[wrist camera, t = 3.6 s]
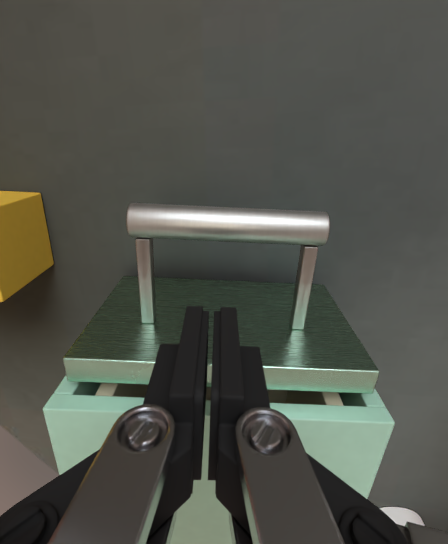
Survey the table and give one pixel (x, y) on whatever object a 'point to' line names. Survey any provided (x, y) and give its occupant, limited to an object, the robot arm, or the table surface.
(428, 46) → the table surface
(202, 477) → the fridge
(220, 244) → the table surface
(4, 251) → the block
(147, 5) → the table surface
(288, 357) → the fridge drawer
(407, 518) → the cylindrical container
